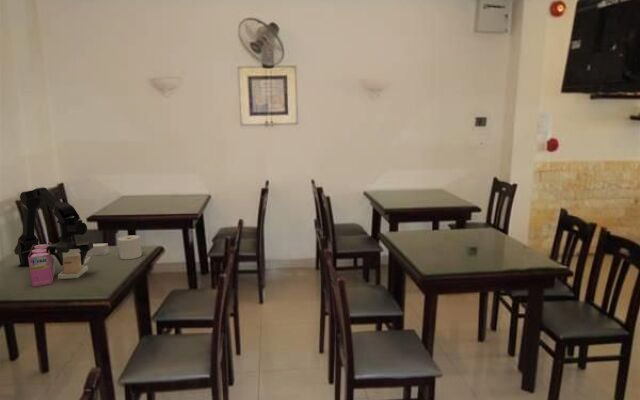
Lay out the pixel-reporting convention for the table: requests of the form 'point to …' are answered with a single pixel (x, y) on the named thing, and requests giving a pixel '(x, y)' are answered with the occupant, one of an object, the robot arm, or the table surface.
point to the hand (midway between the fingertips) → (72, 265)
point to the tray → (69, 276)
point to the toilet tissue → (129, 247)
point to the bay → (93, 251)
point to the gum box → (41, 265)
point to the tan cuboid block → (72, 264)
